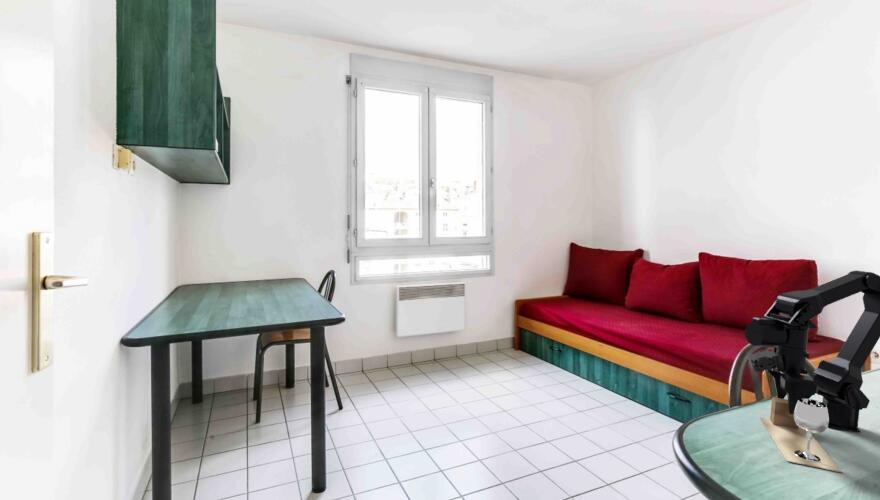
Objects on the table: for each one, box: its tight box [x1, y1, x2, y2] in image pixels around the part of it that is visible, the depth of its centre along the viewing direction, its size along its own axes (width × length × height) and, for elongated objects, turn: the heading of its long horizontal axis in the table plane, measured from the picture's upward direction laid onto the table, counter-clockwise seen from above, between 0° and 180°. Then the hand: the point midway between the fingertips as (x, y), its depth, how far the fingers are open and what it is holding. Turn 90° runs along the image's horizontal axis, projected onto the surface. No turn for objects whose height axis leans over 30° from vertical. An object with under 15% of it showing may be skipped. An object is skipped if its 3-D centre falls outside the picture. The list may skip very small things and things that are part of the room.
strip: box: [759, 396, 843, 473], centre depth 100 cm, size 9×22×6 cm, turn 156°
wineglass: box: [794, 398, 829, 462], centre depth 93 cm, size 6×6×12 cm
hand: (786, 406), depth 108 cm, fingers open, 9 cm apart
